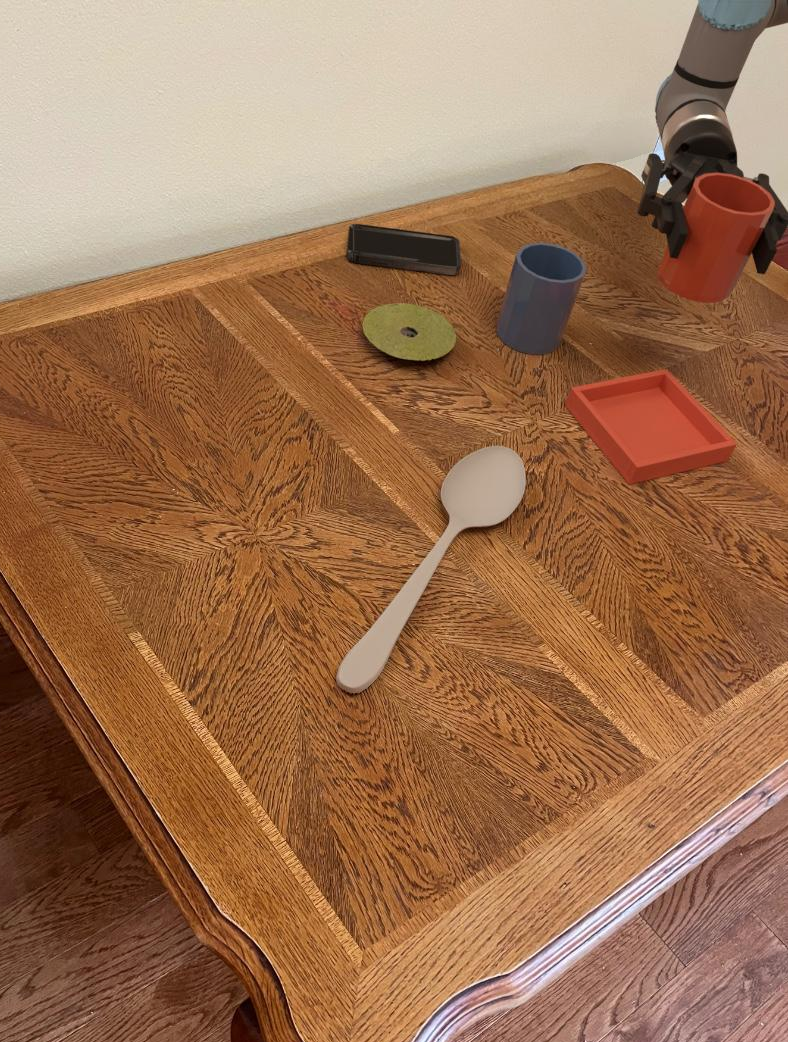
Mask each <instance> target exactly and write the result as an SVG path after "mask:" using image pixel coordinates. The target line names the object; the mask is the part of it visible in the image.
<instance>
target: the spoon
mask: <svg viewBox="0 0 788 1042" xmlns="http://www.w3.org/2000/svg"><path fill="white" fill-rule="evenodd" d="M526 475H527V474H526V469H525V465H524V462H523V460H522V458H521V457H520V455H519V454H518V452H516V450H515V451H514V450H513V449H512V448H509V447H507V446H504V445H492V446H485V447H483V448H479V449H478V450H475V451H473V452H471V453H469V454H468V455H466V456H464V457H463V458H461V459H460V460H459V461H457V462H456V463H455V464H454V465H453V466H452V467H451V469H450V470H449V471H448V473H447V474H446V476H445V478H444V479H443V482H442V485H441V488H440V499H441V503H442V506H443V507H444V509H445V511H446V512H447V514H448V516H449V521H448V525H447V527H446V528H445V530H444V532H443V533H442V535H441V536H440V537H439V539H438V540H437V542H436V543H435V545H433V547H432V548H431V550H430V551H429V552H428V554H427V555H426V556H425V558H424V559H423V560H422V561H421V563H420V564H419V565H418V567H416V569H415V570H414V572H413V573H412V575H410V577H409V578H408V580H407V581H406V582H405V584H404V585H402V587H401V589H399V591H398V592H397V594H396V595H395V596H394V598H393V599H392V600H391V601H390V603H389V604H388V605H387V606H386V608H385V609H384V611H383V612H382V613H381V614H380V615H379V617H378V618H377V619H376V621H375V622H374V623H373V624H372V626H371V627H370V628H369V629H368V631H366V632H365V634H364V635H363V636H362V637H361V638H360V639H359V640H358V641H357V642H356V643H355V644H354V645H353V646H352V647H351V648H350V649H349V650H348V651H347V653H346V655H345V656H344V657H343V659H342V661H341V663H340V665H339V666H338V669H337V673H336V676H335V677H336V678H335V680H336V681H335V682H336V684H337V686H338V687H339V688H340V689H341V690H343V691H344V690H345V691H344V692H346V693H348V692H349V694H352V693H353V694H352V695H356V694H355V693H358V694H361V693H363V692H364V691H363V690H365V689H366V690H367V689H369V688H370V687H371V686H372V685H373V684H374V683H375V682H376V681H377V679H378V678H379V677H380V675H381V674H382V673H381V672H383V671H384V669H385V667H384V665H385V664H386V665H387V663H388V660H389V659H390V656H391V654H392V652H393V650H394V648H395V645H396V643H397V641H398V639H399V637H400V635H401V634H402V631H403V630H404V628H405V626H406V624H407V622H408V620H409V618H410V617H411V615H412V613H413V611H414V610H415V608H416V607H417V604H418V602H419V601H420V599H421V597H422V596H423V594H424V592H425V591H426V588H427V586H428V585H429V583H430V581H431V580H432V577H433V576H434V574H435V572H436V570H437V569H438V566H439V564H440V563H441V561H442V559H443V558H444V556H445V554H446V552H447V550H448V549H449V547H450V546H451V544H452V542H453V541H454V540H455V538H456V537H457V536H458V535H459V534H460V533H461V532H462V531H463V530H466V529H468V528H487V527H493V526H496V525H499V524H500V523H503V522H504V521H506V520H507V519H508V518H509V517H510V516H511V515H512V514H513V513H514V511H516V509H517V507H518V506H519V505H520V503H521V501H522V500H523V496H524V494H525V491H526V490H525V489H526V484H527V483H526V482H527V476H526ZM388 658H389V659H388ZM386 662H387V663H386ZM386 665H385V666H386ZM383 668H384V669H383ZM382 670H383V671H382ZM380 673H381V674H380ZM378 676H379V677H378ZM375 680H376V681H375ZM374 681H375V682H374ZM373 682H374V683H373ZM372 683H373V684H372ZM371 684H372V685H371ZM370 685H371V686H370ZM369 686H370V687H369ZM368 687H369V688H368ZM366 690H365V691H366ZM362 691H363V692H362ZM360 692H361V693H360Z"/></svg>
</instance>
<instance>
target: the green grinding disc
mask: <svg viewBox="0 0 788 1042" xmlns="http://www.w3.org/2000/svg"><path fill="white" fill-rule="evenodd" d="M362 330H363V334H364V336H365V337H366V338H367V340H368V341H369V342H370V343H371V344H372V345H373V346H374V347H376V349H378V350H380V351H381V352H383V353H386V354H387V355H389V356H392V357H394V358H398V359H402V360H407V361H408V360H409V361H417V362H419V361H424V362H425V361H432V359H433V360H436V359H439V358H441V357H444V356H445V355H447V354H448V353H449V352H450V351H451V350H452V349H453V348H454V347H455V345H456V342H457V334H456V330H455V329H454V326H453V325H452V324H451V323H450V321H449V320H448V319H447V318H445V317H444V316H443V315H442V314H441V313H438V312H437V311H435V310H434V309H430V308H428V307H426V306H422V305H419V304H418V305H417V304H413V303H406V302H405V303H404V302H399V303H397V302H396V303H386V304H383V305H379V306H377V307H374V308H372V309H371V310H370V311H369V312H367V314H366V315H365V316H364V318H363V321H362Z"/></svg>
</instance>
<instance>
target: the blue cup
mask: <svg viewBox="0 0 788 1042" xmlns="http://www.w3.org/2000/svg"><path fill="white" fill-rule="evenodd" d="M587 269H588V268H587V265H586V263H585V261H584V260H583V258H582V257H581V256H580V255H579V254H577V253H575V251H572V250H571V249H569V248H567V247H565V246H561V245H558V244H555V243H549V242H533V243H527V244H526V245H523V246H521V247H520V248H519V249H518V251H517V252H516V255H515V257H514V261H513V264H512V268H511V271H510V275H509V278H508V282H507V286H506V288H505V293H504V296H503V299H502V302H501V307H500V310H499V313H498V317H497V321H496V325H495V332H496V335H497V337H498V338H499V339H500V341H501V342H502V343H504V344H505V345H506V346H507V347H509V348H511V349H513V350H514V351H517V352H519V353H523V354H527V355H537V356H538V355H541V356H542V355H546V354H547V355H548V354H550V353H552V352H554V351H557V349H558V348H559V347H560V345H561V343H562V339H563V338H564V335H565V333H566V329H567V326H568V324H569V321H570V318H571V315H572V313H573V309H574V307H575V304H576V301H577V298H578V295H579V293H580V290H581V286H582V284H583V282H584V278H585V276H586V274H587Z"/></svg>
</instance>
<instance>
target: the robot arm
mask: <svg viewBox="0 0 788 1042" xmlns="http://www.w3.org/2000/svg"><path fill="white" fill-rule="evenodd" d="M697 1H698V2H697V5H696V8H695V10H694V14H693V16H692V19H691V22H690V24H689V28H688V31H687V33H686V36H685V39H684V41H683V44H682V47H681V50H680V52H679V56H678V58H677V61H676V63H675V65H674V67H673V70H672V72H671V73H670V74H669V75H668V76H667V77H666V79H664V81H662V83H661V84H660V86H659V89H658V91H657V94H656V98H655V107H654V112H655V123H656V126H657V128H658V133H659V137H660V142H661V146H662V151H663V157H664V159H662V158H661V157H660V155H659V154H657V153H649V154H648V156H647V159H646V162H645V165H644V167H643V169H642V172H641V180H642V181H643V184H644V185H643V189H642V193H641V196H640V200H639V204H638V207H637V211H636V213H637V215H638V216H640V217H648V216H649V215H652V216H654V217H653V220H652V222H651V227H652V228H653V229H655V230H658V232H659V233H660V234H664V235H666V241H667V245H668V248H669V254H670V258H675V259H678V256H679V254H680V252H681V249H682V247H683V245H684V243H685V240H686V238H687V236H688V232H687V227H686V222H685V217H684V212H683V207H684V206H683V203H684V202H686V200H687V198H688V195H689V193H690V191H691V188H692V186H693V183H694V181H695V179H696V178H697V177H699V176H701V175H703V174H707V173H724V174H731V175H735V176H739V177H742V178H746V179H748V180H750V181H752V182H754V183H756V184H758V185H760V186H762V187H763V188H764V189H765V190H766V191H768V192H769V193H770V194H771V196H772V197H773V199H774V201H775V205H774V209H773V211H772V213H771V215H770V217H769V219H768V221H767V223H766V225H765V227H764V229H763V231H762V233H761V235H760V237H759V239H758V241H757V243H756V245H755V247H754V249H753V251H752V253H751V255H752V259H753V262H754V266H755V269H756V270H755V271H756V274H759V275H766V273H767V271H768V269H769V267H770V265H771V263H772V261H773V260H774V258H775V256H776V254H777V252H778V248H777V246H776V245H777V243H778V242H780V241H781V240H782V238H783V236H784V235H785V233H786V231H787V229H788V210H787V208H786V206H785V205H784V203H783V202H782V201H781V199H780V198H779V196H778V194H777V193H776V192H775V190H774V189H773V188H772V186H771V184H770V176H769V175H768V174H766V173H758V174H757V176H754V177H753V178H751V177H746V176H745V175H744V172H743V170H742V169H741V168H739V167H738V151H737V148H736V143H735V140H734V137H733V132H732V129H731V126H730V124H729V123H730V122H729V119H728V117H727V113H726V111H727V107H728V104H729V102H730V100H731V98H732V96H733V93H734V91H735V88H736V86H737V83H738V81H739V79H740V76H741V73H742V72H743V69H744V67H745V64H746V62H747V59H748V58H749V55H750V53H751V50H752V49H753V46H754V44H755V42H756V40H757V39H758V38H759V37H760V35H762V33H763V32H764V31H765V30H766V29H769V28H773V27H777V26H781V25H785V24H788V0H697ZM664 176H665V178H666V180H668V182H669V184H670V185H671V187H670V188H669V189H668V190H667V191H666V192H665V193H664V194H663V196H662V197H659V196H657V193H658V190H659V185H660V180H661V179H663V178H664Z"/></svg>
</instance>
